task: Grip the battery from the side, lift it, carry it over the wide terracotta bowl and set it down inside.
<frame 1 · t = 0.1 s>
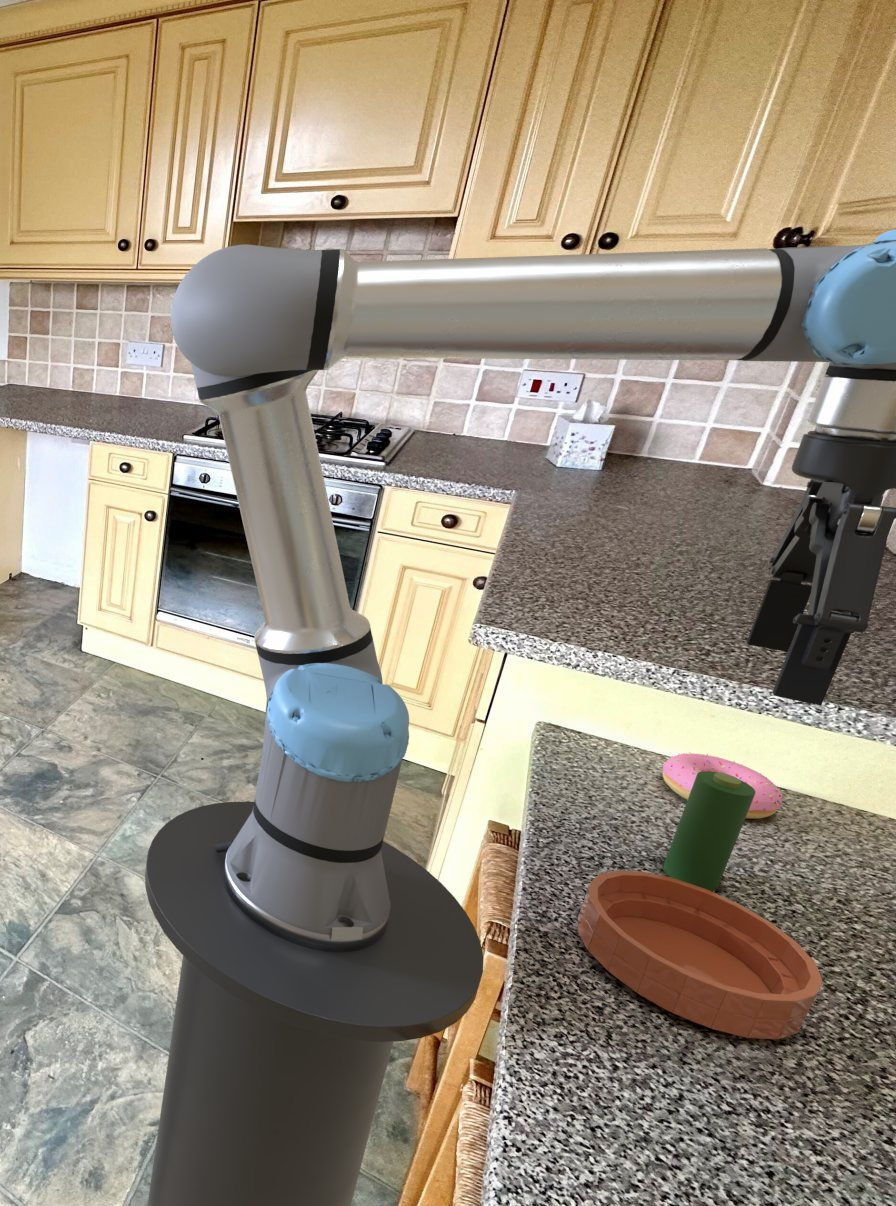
hand: (780, 671, 69), 28 cm above the countertop, tool pointing down, fingers open, 13 cm apart
doughnut: (714, 799, 98), on the countertop
battery: (689, 877, 84), on the countertop
bowl: (680, 971, 72), on the countertop
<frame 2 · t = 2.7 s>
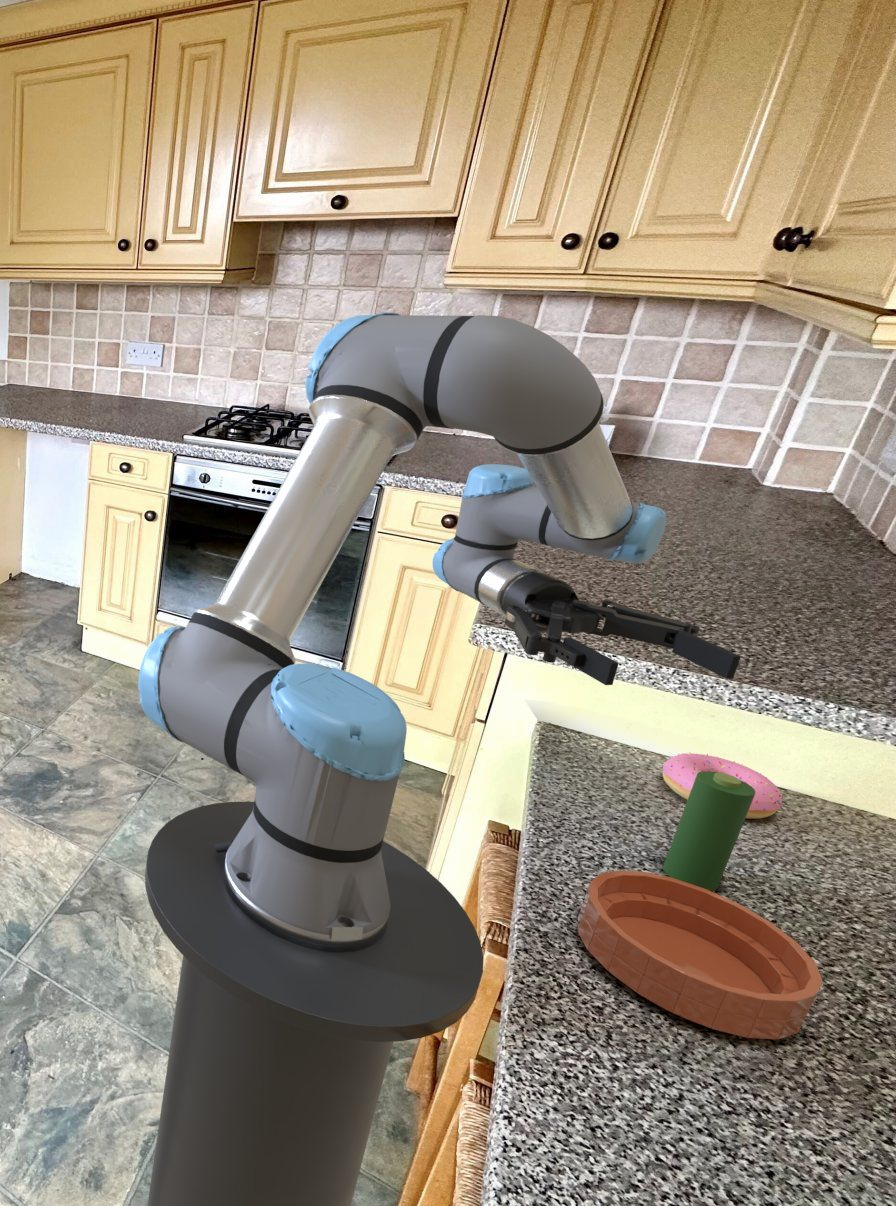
hand: (673, 671, 85), 21 cm above the countertop, tool horizontal, fingers open, 13 cm apart
nothing on the countertop moved.
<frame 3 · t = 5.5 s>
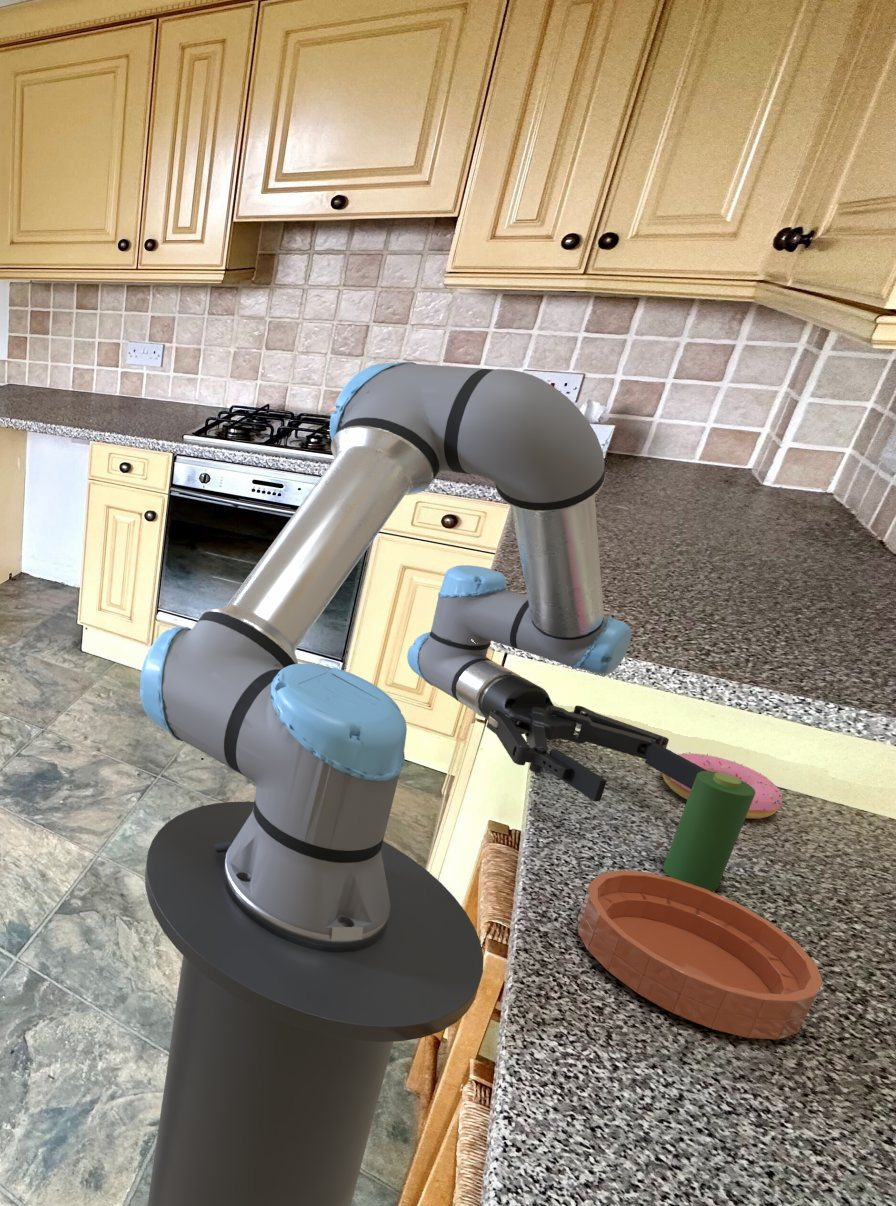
hand: (654, 787, 88), 7 cm above the countertop, tool horizontal, fingers open, 13 cm apart
nothing on the countertop moved.
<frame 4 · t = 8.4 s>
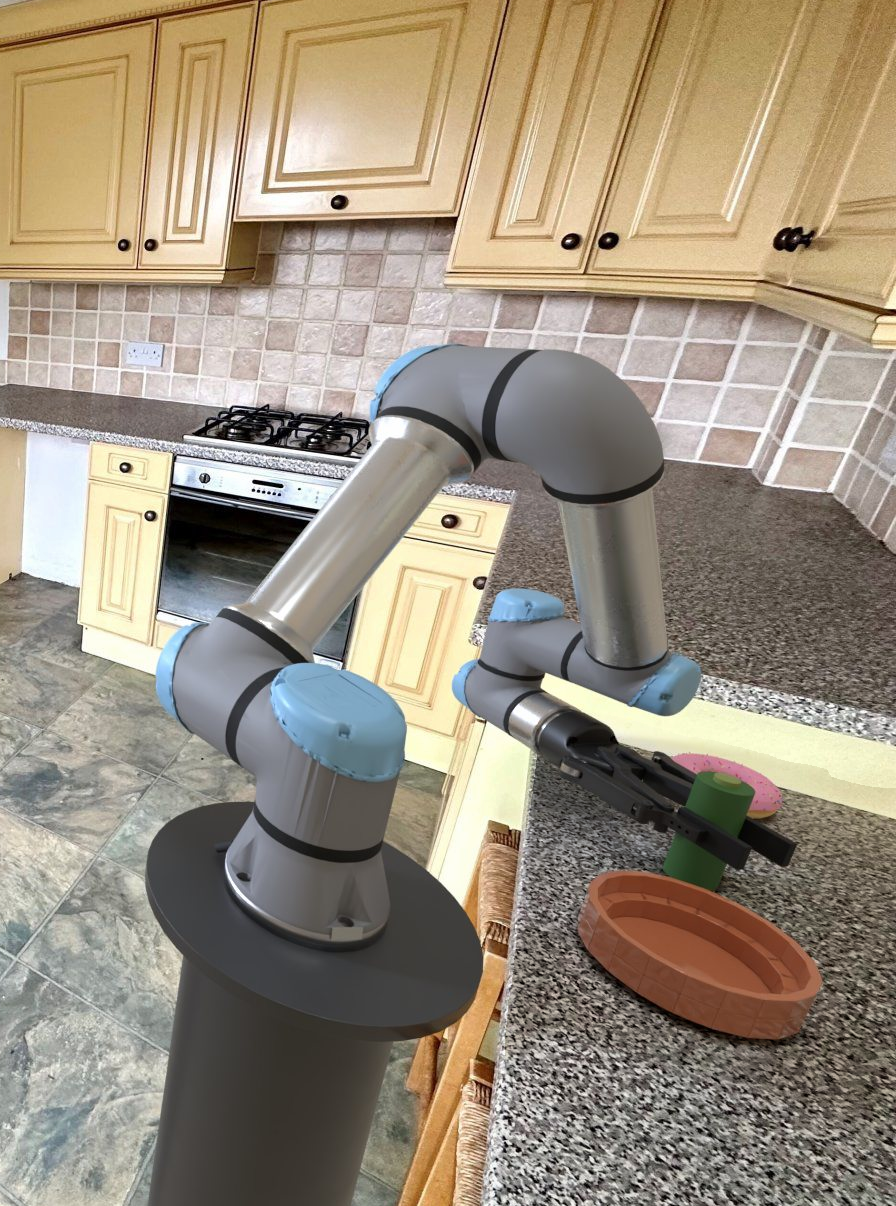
hand: (766, 856, 77), 7 cm above the countertop, tool horizontal, fingers closed on battery, 4 cm apart
battery: (689, 877, 84), on the countertop, touching gripper
everything else where it was.
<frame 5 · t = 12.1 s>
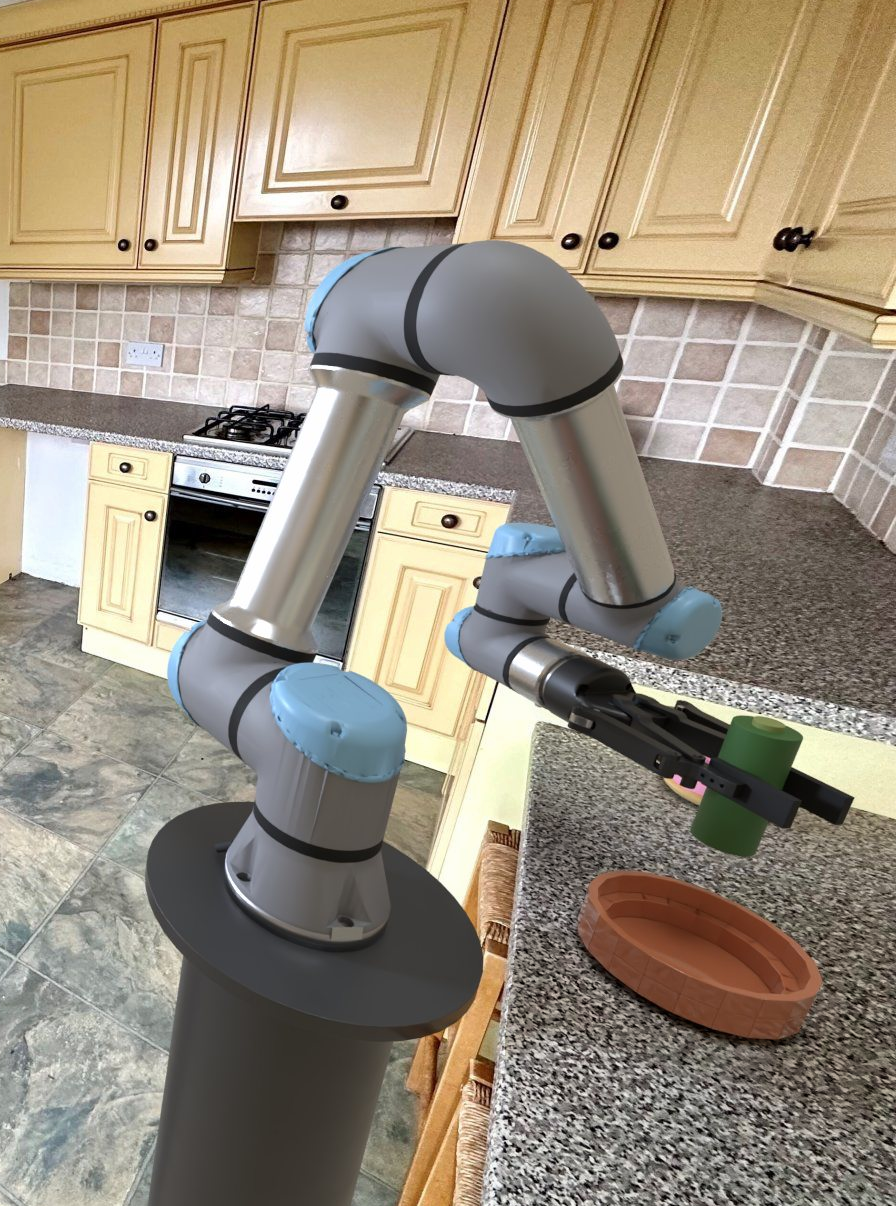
hand: (818, 812, 65), 19 cm above the countertop, tool horizontal, fingers closed on battery, 4 cm apart
battery: (722, 841, 72), point 12 cm above the countertop, touching gripper
everything else where it was.
when the fingers open (8 cm above the countertop, at t = 16.1 s): battery stays where it is, resting on bowl.
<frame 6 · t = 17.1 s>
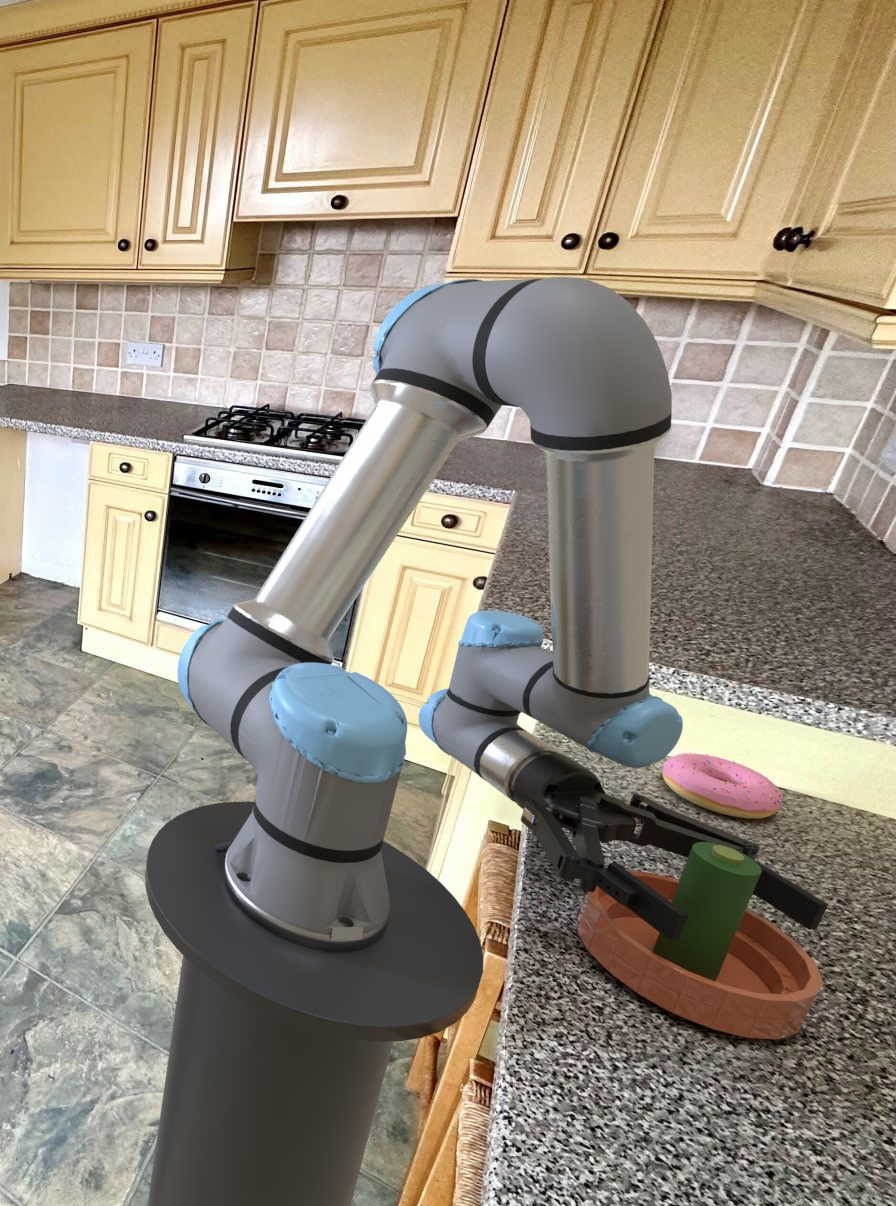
hand: (750, 923, 66), 9 cm above the countertop, tool horizontal, fingers open, 13 cm apart
battery: (683, 964, 72), point 1 cm above the countertop, touching bowl
everything else where it was.
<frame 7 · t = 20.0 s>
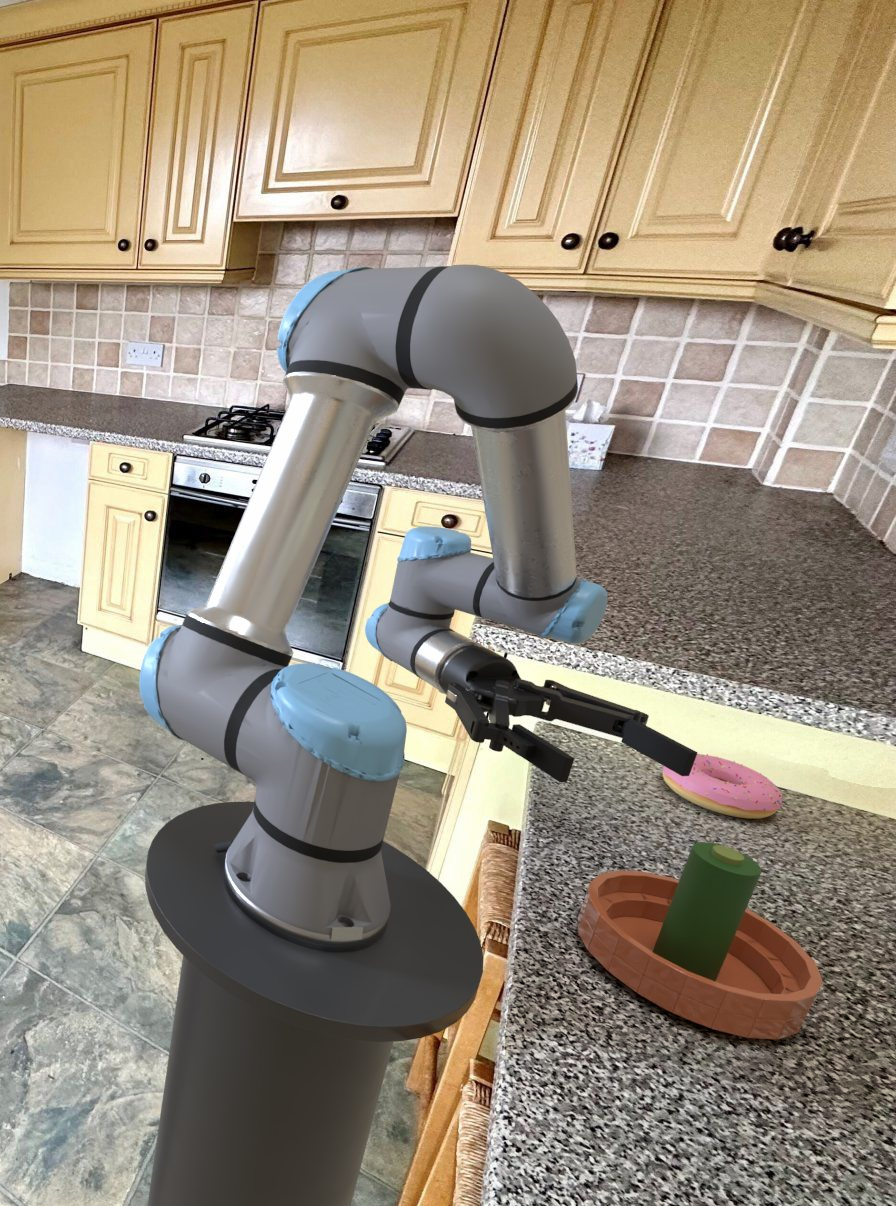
hand: (629, 767, 76), 16 cm above the countertop, tool horizontal, fingers open, 13 cm apart
nothing on the countertop moved.
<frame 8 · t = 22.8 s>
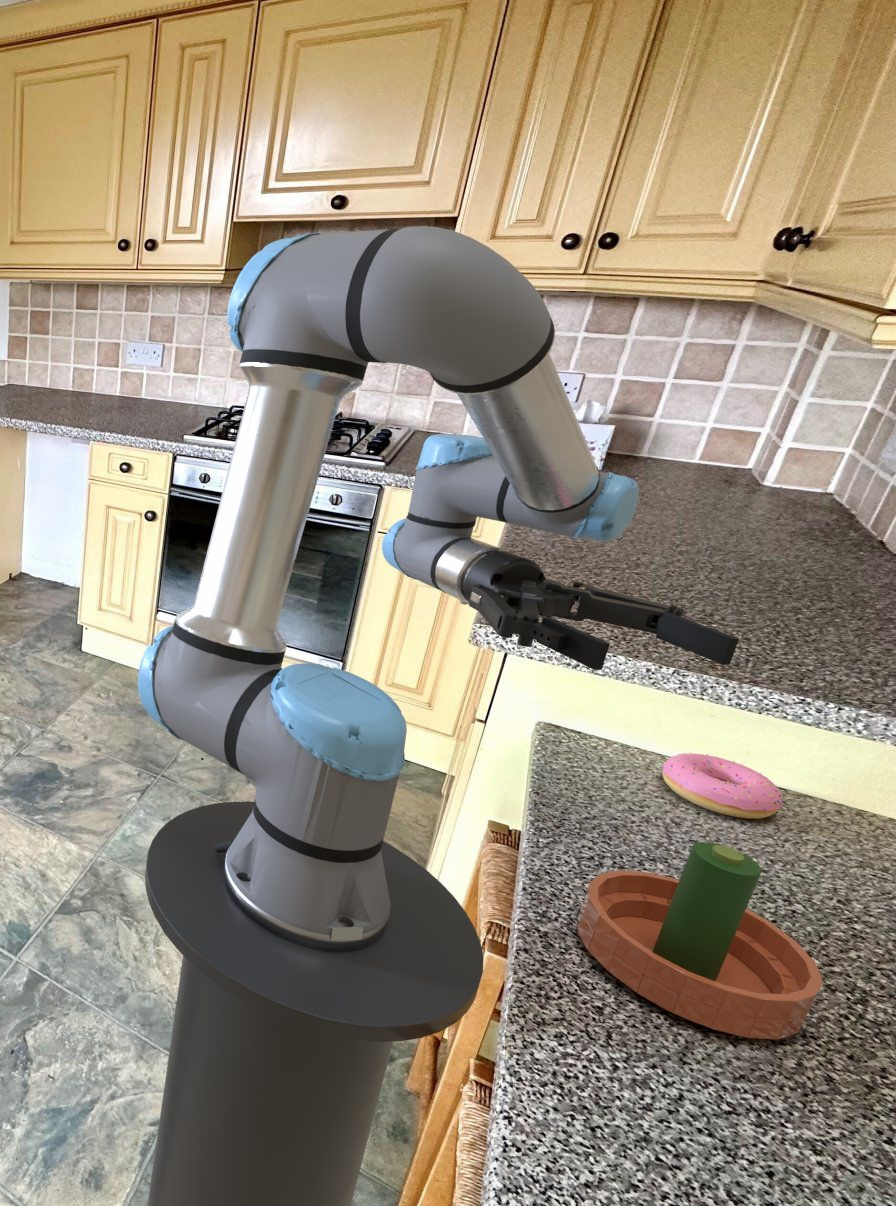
hand: (667, 654, 73), 28 cm above the countertop, tool horizontal, fingers open, 13 cm apart
nothing on the countertop moved.
at the end: battery 0.1 cm from the bowl (horizontally); battery point 0.8 cm above the countertop; the gripper is holding nothing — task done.
